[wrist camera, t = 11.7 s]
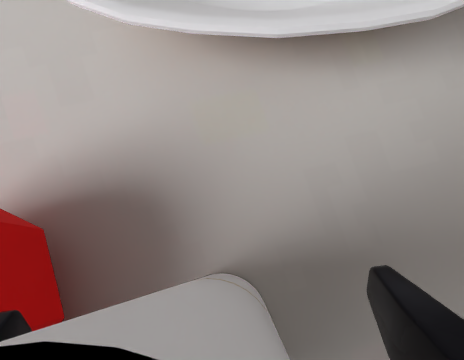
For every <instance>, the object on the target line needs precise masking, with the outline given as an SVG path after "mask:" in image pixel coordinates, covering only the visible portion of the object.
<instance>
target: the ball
mask: <svg viewBox="0 0 464 360" xmlns="http://www.w3.org/2000/svg"><path fill="white" fill-rule="evenodd" d="M9 310H18V311H19V312H20V313H21V314H22V315H23V317H24V318H25V320H26V321H27V323H28V325H29V326H30V328H31V329H32V331H36V330H39V329H42V328H45V327H48V326H51V325H54V324H58V323H61V322H62V321H63V319H64V313H63V309H62V304H61V300H60V296H59V292H58V288H57V284H56V280H55V275H54V271H53V267H52V263H51V259H50V255H49V250H48V246H47V242H46V238H45V234H44V230H43V229H42V228H40V227H37V226H35V225H33V224H31V223H29V222H27V221H25V220H23V219H21V218H19V217H17V216H14V215H12V214H10V213H8V212H6V211H4V210H2V209H0V312H2V311H9Z"/></svg>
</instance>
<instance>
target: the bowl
mask: <svg viewBox="0 0 464 360" xmlns="http://www.w3.org/2000/svg"><path fill="white" fill-rule="evenodd" d="M67 1H68V2H70V3H71V4H73V5H75V6H77V7H80V8H83V9H86V10H89V11H92V12H95V13H97V14H100V15H103V16H106V17H109V18H112V19H115V20H117V21H120V22H123V23H126V24H129V25H136V26H143V27H150V28H156V29H163V30H170V31H177V32H184V33H191V34H207V35H226V36H246V37H266V38H285V37H297V36H310V35H322V34H335V33H347V32H360V31H368V30H373V29H379V28H385V27H390V26H396V25H402V24H408V23H413V22H419V21H425V20H430V19H433V18H436V17H438V16H441V15H444V14H446V13H449V12H452V11H454V10H457V9H459V8H462V7H464V0H67Z"/></svg>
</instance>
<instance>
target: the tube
mask: <svg viewBox="0 0 464 360" xmlns="http://www.w3.org/2000/svg"><path fill="white" fill-rule="evenodd" d="M0 360H290V358H289V356H288V354H287V352H286V350H285V347H284V345H283V343H282V341H281V339H280V336H279V334H278V332H277V330H276V327H275V325H274V323H273V321H272V319H271V316H270V314H269V312H268V310H267V308H266V305H265V303H264V301H263V299H262V297H261V295H260V294H259V293H258V291H257V290H256V289H255V288H254V287H253V286H252V285H251V284H250V283H249V282H247V281H246V280H244V279H242V278H240V277H238V276H235V275H232V274H224V273H219V274H212V275H209V276H205V277H202V278H199V279H196V280H192V281H189V282H186V283H183V284H180V285H177V286H174V287H170V288H167V289H164V290H161V291H158V292H155V293H152V294H149V295H145V296H142V297H139V298H136V299H133V300H130V301H127V302H123V303H120V304H117V305H114V306H111V307H108V308H105V309H101V310H98V311H95V312H92V313H89V314H86V315H83V316H80V317H76V318H73V319H70V320H67V321H64V322H61V323H58V324H54V325H51V326H48V327H45V328H42V329H39V330H36V331H32V332H29V333H26V334H23V335H20V336H17V337H14V338H10V339H7V340H4V341H1V342H0Z"/></svg>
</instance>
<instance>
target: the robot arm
mask: <svg viewBox="0 0 464 360" xmlns="http://www.w3.org/2000/svg"><path fill="white" fill-rule="evenodd" d="M367 296H368V300H369V302H370V305H371V308H372V311H373V314H374V317H375V319H376V322H377V325H378V328H379V331H380V333H381V336H382V339H383V342H384V345H385V348H386V350H387V353H388V356H389V358H390V360H464V319H462V318H461V317H459V316H458V315H457V314H455V313H454V312H452V311H451V310H450V309H448V308H447V307H445V306H444V305H443V304H441V303H440V302H438V301H437V300H436V299H434V298H433V297H431V296H430V295H429V294H427V293H426V292H424V291H423V290H422V289H420V288H419V287H417V286H416V285H415V284H413V283H412V282H410V281H409V280H408V279H406V278H405V277H404V276H402V275H401V274H399V273H398V272H397V271H395V270H394V269H392V268H391V267H389V266H387V265H382V266H374V267H371V268H370V270H369V276H368V283H367ZM29 332H32V329H31V328H30V326H29V325H28V323H27V321H26V320H25V318H24V317H23V315H22V314H21V313H20V312H19V311H18V310H9V311H2V312H0V342H1V341H4V340H7V339H10V338H14V337H17V336H20V335H23V334H26V333H29Z"/></svg>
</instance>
